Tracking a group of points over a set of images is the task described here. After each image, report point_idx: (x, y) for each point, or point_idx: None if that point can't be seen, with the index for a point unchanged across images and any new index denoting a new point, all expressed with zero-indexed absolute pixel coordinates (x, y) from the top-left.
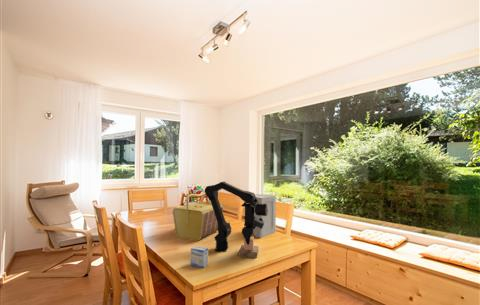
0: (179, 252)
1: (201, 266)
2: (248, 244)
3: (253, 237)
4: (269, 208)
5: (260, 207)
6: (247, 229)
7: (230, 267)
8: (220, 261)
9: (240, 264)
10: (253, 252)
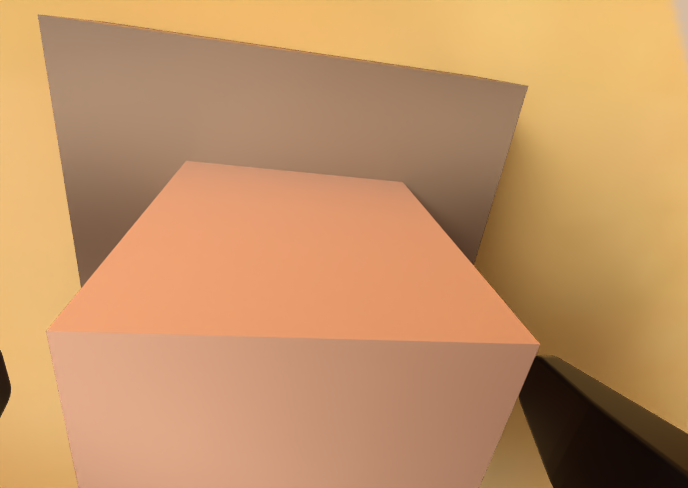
0: None
1: None
2: (551, 369)
3: (171, 345)
4: None
5: None
6: None
7: (684, 383)
8: (528, 479)
9: (646, 303)
10: (502, 164)
